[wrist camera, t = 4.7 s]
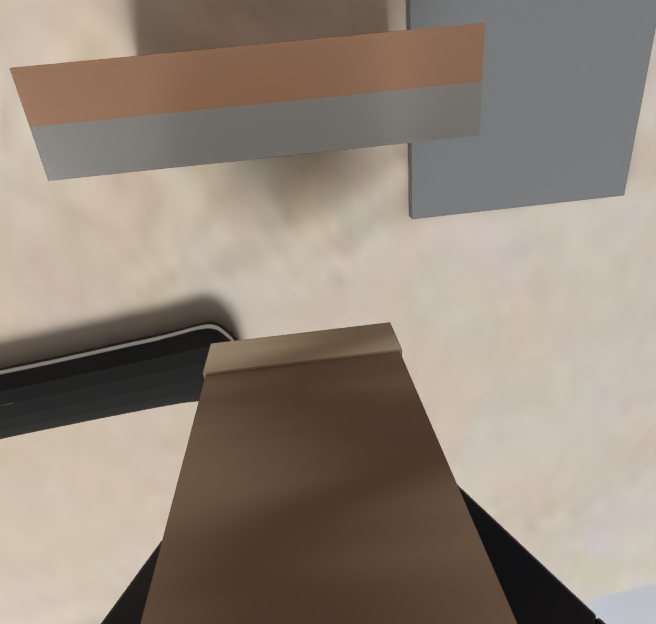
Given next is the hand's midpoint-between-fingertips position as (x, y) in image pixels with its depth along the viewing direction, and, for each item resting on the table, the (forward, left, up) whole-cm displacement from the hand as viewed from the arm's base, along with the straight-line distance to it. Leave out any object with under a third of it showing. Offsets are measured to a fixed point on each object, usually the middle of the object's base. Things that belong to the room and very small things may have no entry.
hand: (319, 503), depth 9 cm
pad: (-7, -6, -8) cm, 13 cm away
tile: (0, -7, -9) cm, 11 cm away
